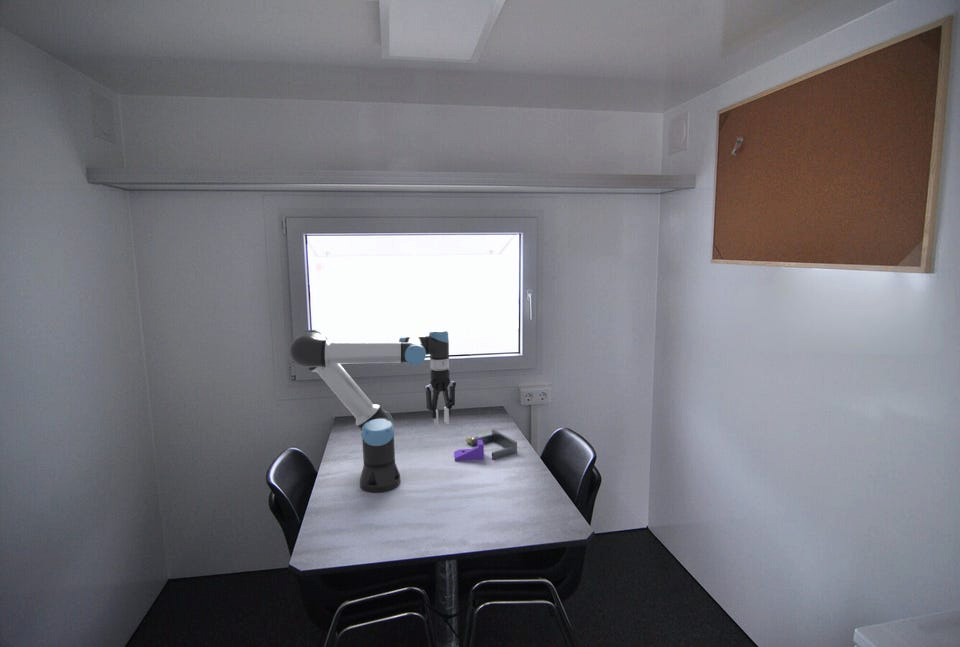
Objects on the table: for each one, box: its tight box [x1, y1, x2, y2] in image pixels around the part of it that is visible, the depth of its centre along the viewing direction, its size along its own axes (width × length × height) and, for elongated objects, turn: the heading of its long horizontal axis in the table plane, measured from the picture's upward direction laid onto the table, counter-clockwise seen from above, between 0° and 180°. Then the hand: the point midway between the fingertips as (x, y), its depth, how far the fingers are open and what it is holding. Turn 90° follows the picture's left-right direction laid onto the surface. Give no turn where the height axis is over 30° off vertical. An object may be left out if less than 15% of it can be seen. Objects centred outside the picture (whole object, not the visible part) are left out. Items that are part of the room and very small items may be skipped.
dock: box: [470, 429, 518, 461], centre depth 223 cm, size 12×18×5 cm
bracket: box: [453, 440, 485, 462], centre depth 216 cm, size 12×7×7 cm, turn 96°
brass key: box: [465, 435, 479, 445], centre depth 231 cm, size 6×3×3 cm, turn 142°
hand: (441, 424), depth 208 cm, fingers open, 4 cm apart
